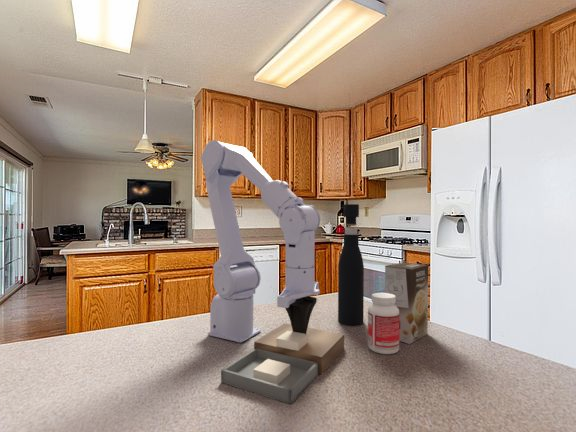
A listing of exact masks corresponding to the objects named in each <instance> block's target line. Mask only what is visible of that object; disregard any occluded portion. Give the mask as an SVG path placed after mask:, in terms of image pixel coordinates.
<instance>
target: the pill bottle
mask: <svg viewBox="0 0 576 432" xmlns="http://www.w3.org/2000/svg"><path fill="white" fill-rule="evenodd" d="M371 302H372V303H371V304H369V306H368V308H367V345H368V348H369V349H370V350H371V351H373V352H374V353H377V354H381V355H392V354H393V355H394V354H395V353H397V352H398V351H399V350H400V341H399V309H398V308H397V307H396V306H395V305H394V304H395V302H396V296H395V295H393V294H389V293H385V292H374V293H372V294H371Z"/></svg>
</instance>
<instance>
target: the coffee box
mask: <svg viewBox="0 0 576 432" xmlns="http://www.w3.org/2000/svg"><path fill="white" fill-rule="evenodd" d="M384 293H389V294H393V295H395V296H396V302H395V304H394V305H395V306H396V307H397V308H398V309H399V342H401V343H405V344H407V345H411V344H413V343H414V342H416V341H417V340H419V339H421V338H423V337H425V336H426V335H428V333H429V332H428V331H429V329H428V326H429V325H428V323H429V319H428V317H429V316H428V315H429V311H428V310H429V264H422V263H413V262H398V263H393V264H388V265H385V266H384Z"/></svg>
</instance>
